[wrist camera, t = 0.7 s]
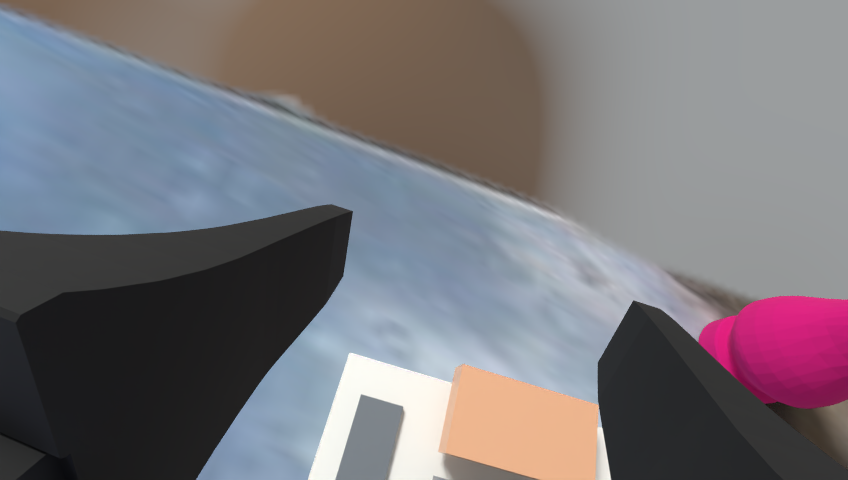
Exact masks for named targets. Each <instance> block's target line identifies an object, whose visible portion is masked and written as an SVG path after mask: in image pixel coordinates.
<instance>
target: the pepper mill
mask: <svg viewBox="0 0 848 480" xmlns="http://www.w3.org/2000/svg"><path fill="white" fill-rule="evenodd" d="M699 344H700V345H701V346H702V347H703V348H704V349H705V350H706V351H707V352H708V353H710V354H711V355H712V356H713V357H714V358H715V359H716V360H717V361H718V362H719V363H720V364H721V365H722V366H723V367H724V368H725V369H726V370H727V371H729V372H730V373H731V374H732V375H733V376H734V377H735V378H736V379H737V380H738V381H739V382H740V383H742V384H743V385H744V386H745V387H746V388H747V389H748V390H749V391H750V392H752V393H753V394H754V395H755V396H756V397H757V398H758V399H760V400H761V401H762V402H763V403H764V404H768V403H775V402H781V403H784V404H786V405H789V406H793V407H796V408H807V409H810V408H818V407H824V406H830V405H834V404H837V403H840V402H842V401H845V400H847V399H848V300H841V299H824V298H814V297H805V296H779V297H772V298H767V299H762V300H758V301H754V302H753V303H751V304H749V305H747V306H746V307H744V308H743V309H742V310H741V311H740V312H739V314H738V315H737V316H730V317H727V318H724V319H720V320H717V321H714V322H711V323H709V324H708V325H707V326H706V327H705V328H704V329H703V331H702V332H701V334H700V336H699Z"/></svg>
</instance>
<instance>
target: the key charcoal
mask: <svg viewBox="0 0 848 480" xmlns="http://www.w3.org/2000/svg"><path fill="white" fill-rule="evenodd" d="M432 480H448V479H444V478H441V477H437V476H434V475H433V479H432Z"/></svg>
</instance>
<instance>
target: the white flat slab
mask: <svg viewBox="0 0 848 480" xmlns="http://www.w3.org/2000/svg"><path fill="white" fill-rule="evenodd" d="M451 387H452V383H450V382H447V381H443V380H440V379H437V378H433V377H430V376H427V375H423V374H420V373H417V372H413V371H410V370H407V369H403V368H400V367H396V366H393V365H390V364H386V363H383V362H380V361H376V360H373V359H370V358H366V357H363V356H360V355H356V354H353V353H349V356H348V359H347V362H346V365H345V368H344V371H343V374H342V377H341V380H340V384H339V387H338V390H337V393H336V396H335V399H334V402H333V405H332V408H331V411H330V414H329V417H328V420H327V423H326V426H325V429H324V432H323V435H322V438H321V441H320V444H319V447H318V450H317V453H316V456H315V459H314V463H313V466H312V469H311V472H310V475H309V478H308V480H432V479H433V475H434V476H437V477H441V478H444V479H448V480H535V479H532V478H528V477H525V476H521V475H518V474H514V473H511V472H507V471H503V470H500V469H496V468H493V467H489V466H486V465H482V464H479V463H475V462H472V461H468V460H465V459H461V458H458V457H454V456H451V455H447V454H444V453H440V452H438V450H439V445H440V440H441V435H442V431H443V426H444V421H445V416H446V411H447V406H448V401H449V396H450V391H451ZM595 480H611V476H610V470H609V464H608V458H607V452H606V446H605V440H604V434H603V428H601V427H598V428H597V452H596V476H595Z"/></svg>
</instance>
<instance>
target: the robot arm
mask: <svg viewBox="0 0 848 480" xmlns="http://www.w3.org/2000/svg"><path fill="white" fill-rule="evenodd" d="M352 213H353V211H350V210H347V209H344V208H341V207H338V206H335V205H322V206H316V207H312V208H307V209H303V210H299V211H294V212H290V213H286V214H281V215H277V216H273V217H268V218H264V219H259V220H254V221H248V222H243V223H238V224H233V225H228V226H222V227H215V228H208V229H200V230H191V231H181V232H170V233H150V234H129V235H66V234H39V233H23V232H10V231H0V480H196V478H197V477H198V475H199V474H200V472H201V470H202V469H203V467H204V466H205V464H206V462H207V461H208V459H209V458H210V456H211V454H212V453H213V451H214V450H215V448H216V447H217V445H218V444H219V442H220V441H221V439H222V438H223V436H224V435H225V433H226V432H227V430H228V428H229V427H230V425H231V424H232V422H233V421H234V419H235V418H236V416H237V415H238V413H239V412H240V410H241V409H242V408H243V406H244V405H245V403H246V402H247V400H248V399H249V397H250V396H251V395H252V393H253V392H254V390H255V389H256V387H257V386H258V384H259V383H260V382H261V380H262V379H263V378H264V376H265V375H266V374H267V372H268V371H269V370H270V369H271V367H272V366H273V365H274V364H275V362H276V361H277V360H278V359H279V358H280V357H281V356H282V354H283V353H284V352H285V351H286V350H287V349H288V347H289V346H290V345H291V344H292V343H293V342H294V341H295V339H296V338H297V337H298V336H299V335H300V334H301V332H302V331H303V330H304V329H305V328H306V327H307V326H308V324H309V323H310V322H311V321H312V320H313V318H314V317H315V316H316V315H317V314H318V313H319V311H320V310H321V309H322V308H323V307H324V305H325V304H326V303H327V301H328V300H329V298H330V296H331V295H332V293H333V292H334V290H335V289H336V287H337V285H338V284H339V282H340V280H341V279H342V277H343V274H344V267H345V260H346V253H347V247H348V240H349V233H350V226H351V220H352ZM598 402H599V409H600V416H601V422H602V428H603V434H604V440H605V446H606V452H607V458H608V464H609V470H610V476H611V480H848V470H847V469H845V468H844V467H843V466H841V465H840V464H839V463H837V462H836V461H835V460H833V459H832V458H831V457H829V456H828V455H827V454H826V453H824V452H823V451H822V450H821V449H819V448H818V447H817V446H815V445H814V444H813V443H812V442H810V441H809V440H808V439H806V438H805V437H804V436H803V435H801V434H800V433H799V432H797V431H796V430H795V429H794V428H792V427H791V426H790V425H789V424H788V423H786V422H785V421H784V420H783V419H782V418H780V417H779V416H778V415H777V414H776V413H774V412H773V411H772V410H771V409H770V408H769V407H768V406H766V405H765V404H764V403H763V402H762V401H761V400H760V399H758V398H757V397H756V396H755V395H754V394H753V393H752V392H750V391H749V390H748V389H747V388H746V387H745V386H744V385H743V384H742V383H740V382H739V381H738V380H737V379H736V378H735V377H734V376H733V375H732V374H731V373H730V372H729V371H727V370H726V369H725V368H724V367H723V366H722V365H721V364H720V363H719V362H718V361H717V360H716V359H715V358H714V357H713V356H712V355H711V354H710V353H708V352H707V351H706V350H705V349H704V348H703V347H702V346H701V345H700V344H699V343H698V342H697V341H696V340H695V339H694V338H693V337H692V336H691V335H690V334H689V333H687V332H686V331H685V330H684V329H683V328H682V327H681V326H680V325H679V324H678V323H677V322H676V321H674V320H673V319H672V318H671V317H670V316H668V315H667V314H666V313H665V312H663V311H662V310H661V309H658V308H655V307H652V306H649V305H646V304H643V303H640V302H636V301H633V302H632V304H631V306H630V307H629V309H628V311H627V313H626V314H625V316H624V318H623V320H622V321H621V323H620V325H619V327H618V328H617V330H616V332H615V334H614V335H613V337H612V339H611V341H610V342H609V344H608V346H607V348H606V349H605V351H604V353H603V355H602V357H601V358H600V360H599V362H598Z"/></svg>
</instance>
